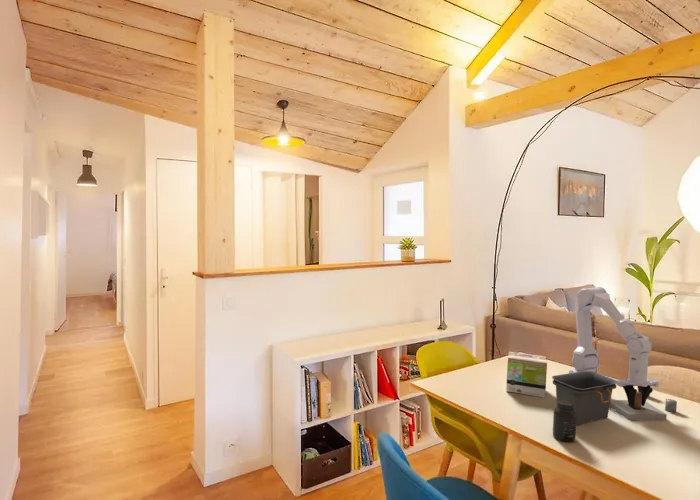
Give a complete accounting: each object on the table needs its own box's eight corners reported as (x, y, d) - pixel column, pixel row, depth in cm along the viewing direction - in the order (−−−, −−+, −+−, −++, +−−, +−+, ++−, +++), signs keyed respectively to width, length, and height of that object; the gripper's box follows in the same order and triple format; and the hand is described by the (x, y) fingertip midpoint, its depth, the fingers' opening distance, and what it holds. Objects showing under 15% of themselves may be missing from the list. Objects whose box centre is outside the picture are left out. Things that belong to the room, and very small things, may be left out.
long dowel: (633, 412, 158) (634, 394, 158) (628, 408, 162) (629, 390, 161) (643, 413, 158) (644, 394, 157) (637, 409, 161) (638, 391, 161)
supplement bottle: (548, 433, 143) (549, 398, 142) (567, 432, 144) (569, 397, 143) (560, 443, 136) (561, 407, 136) (580, 442, 137) (582, 406, 136)
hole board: (627, 419, 153) (628, 414, 153) (607, 405, 165) (607, 400, 165) (666, 419, 154) (666, 414, 154) (643, 405, 166) (643, 400, 166)
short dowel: (669, 413, 159) (670, 402, 159) (662, 409, 162) (663, 398, 162) (678, 413, 159) (679, 402, 159) (671, 409, 163) (672, 398, 162)
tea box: (506, 392, 177) (507, 357, 176) (506, 383, 186) (508, 350, 185) (545, 398, 172) (547, 362, 171) (544, 389, 181) (546, 355, 180)
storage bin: (586, 405, 166) (588, 369, 165) (625, 422, 151) (627, 383, 150) (545, 414, 157) (547, 376, 156) (583, 433, 143) (585, 392, 142)
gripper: (625, 373, 154) (624, 409, 155) (665, 373, 155) (663, 409, 156) (613, 366, 161) (611, 401, 162) (651, 366, 162) (649, 401, 163)
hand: (636, 404), depth 159 cm, fingers closed on long dowel, 3 cm apart
